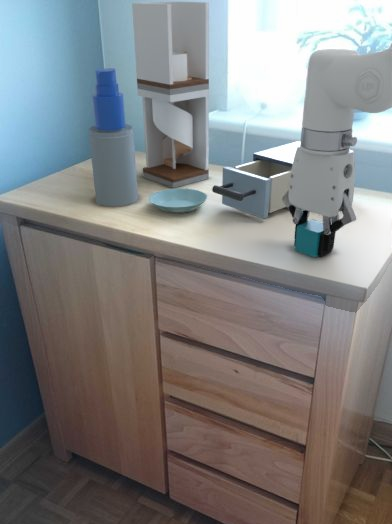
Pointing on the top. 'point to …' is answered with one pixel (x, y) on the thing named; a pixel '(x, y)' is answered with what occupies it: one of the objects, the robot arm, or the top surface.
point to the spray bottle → (112, 145)
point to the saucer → (178, 200)
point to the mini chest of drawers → (279, 155)
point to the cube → (309, 237)
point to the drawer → (255, 187)
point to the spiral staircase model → (174, 88)
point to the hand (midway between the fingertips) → (312, 248)
